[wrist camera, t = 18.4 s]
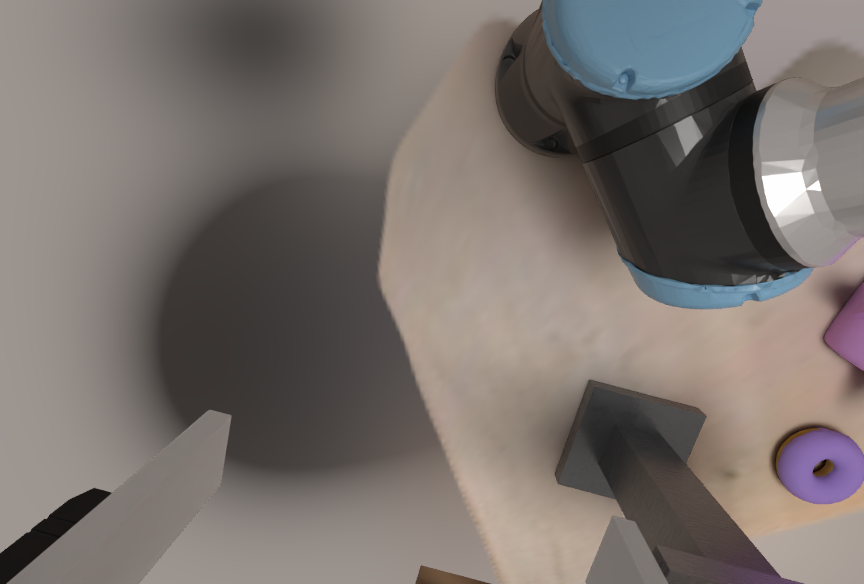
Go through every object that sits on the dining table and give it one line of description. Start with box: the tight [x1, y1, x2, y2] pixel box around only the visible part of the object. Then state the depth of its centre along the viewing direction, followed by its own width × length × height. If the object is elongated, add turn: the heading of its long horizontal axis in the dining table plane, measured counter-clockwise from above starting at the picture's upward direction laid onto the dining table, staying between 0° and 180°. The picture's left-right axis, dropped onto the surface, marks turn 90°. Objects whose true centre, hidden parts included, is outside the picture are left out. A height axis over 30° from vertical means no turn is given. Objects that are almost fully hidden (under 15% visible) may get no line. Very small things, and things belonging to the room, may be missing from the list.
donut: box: [776, 427, 864, 504], centre depth 53 cm, size 10×9×5 cm
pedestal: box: [555, 380, 803, 584], centre depth 42 cm, size 20×14×28 cm
